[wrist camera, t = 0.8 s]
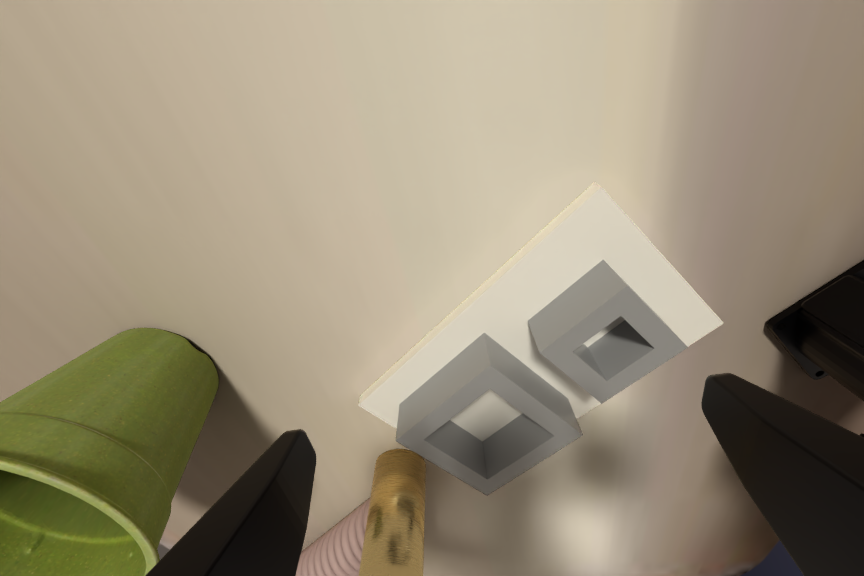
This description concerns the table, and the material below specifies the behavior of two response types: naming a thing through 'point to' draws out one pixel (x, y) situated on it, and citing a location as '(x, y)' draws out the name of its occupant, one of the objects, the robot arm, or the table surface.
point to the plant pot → (100, 456)
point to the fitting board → (540, 346)
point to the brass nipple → (395, 517)
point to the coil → (337, 548)
